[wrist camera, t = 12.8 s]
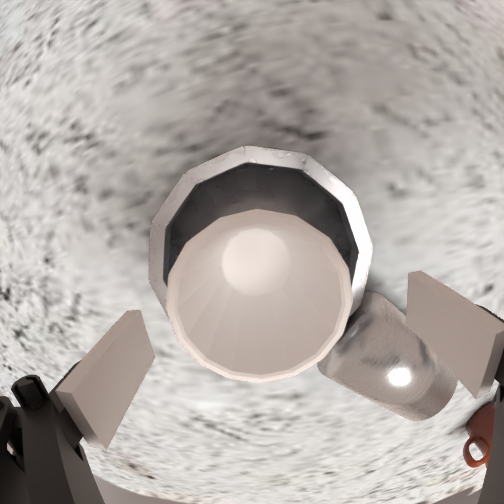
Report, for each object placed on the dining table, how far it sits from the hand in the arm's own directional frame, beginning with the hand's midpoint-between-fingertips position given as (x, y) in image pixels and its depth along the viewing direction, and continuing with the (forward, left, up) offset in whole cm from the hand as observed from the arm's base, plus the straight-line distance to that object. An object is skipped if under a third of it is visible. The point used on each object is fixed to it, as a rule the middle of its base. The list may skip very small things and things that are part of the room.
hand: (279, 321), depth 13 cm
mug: (+1, +48, -12) cm, 49 cm away
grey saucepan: (0, +6, -12) cm, 13 cm away
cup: (+1, -1, -11) cm, 11 cm away
